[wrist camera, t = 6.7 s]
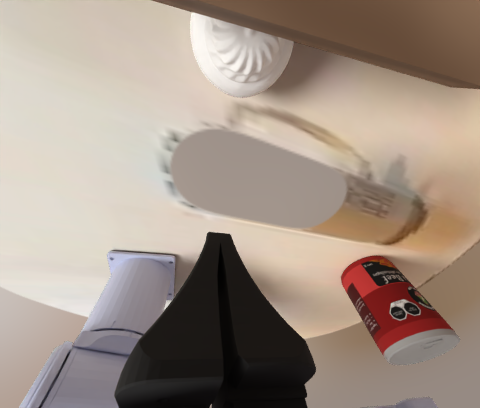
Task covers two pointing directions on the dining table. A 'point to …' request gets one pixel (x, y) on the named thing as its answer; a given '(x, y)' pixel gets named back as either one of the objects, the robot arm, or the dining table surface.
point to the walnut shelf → (369, 31)
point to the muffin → (237, 55)
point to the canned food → (396, 313)
